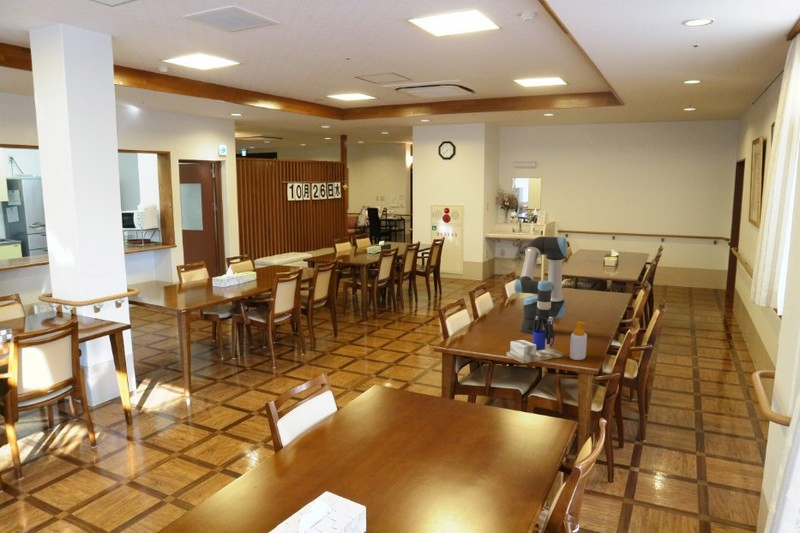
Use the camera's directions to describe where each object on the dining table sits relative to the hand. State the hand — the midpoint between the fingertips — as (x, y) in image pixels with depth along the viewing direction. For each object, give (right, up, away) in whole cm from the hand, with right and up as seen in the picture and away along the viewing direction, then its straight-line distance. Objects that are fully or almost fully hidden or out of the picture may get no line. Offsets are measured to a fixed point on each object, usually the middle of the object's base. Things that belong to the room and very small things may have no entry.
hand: (542, 347), depth 313 cm
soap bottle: (+19, -5, -3) cm, 20 cm away
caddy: (-5, -5, -2) cm, 7 cm away
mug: (0, -1, -1) cm, 1 cm away
